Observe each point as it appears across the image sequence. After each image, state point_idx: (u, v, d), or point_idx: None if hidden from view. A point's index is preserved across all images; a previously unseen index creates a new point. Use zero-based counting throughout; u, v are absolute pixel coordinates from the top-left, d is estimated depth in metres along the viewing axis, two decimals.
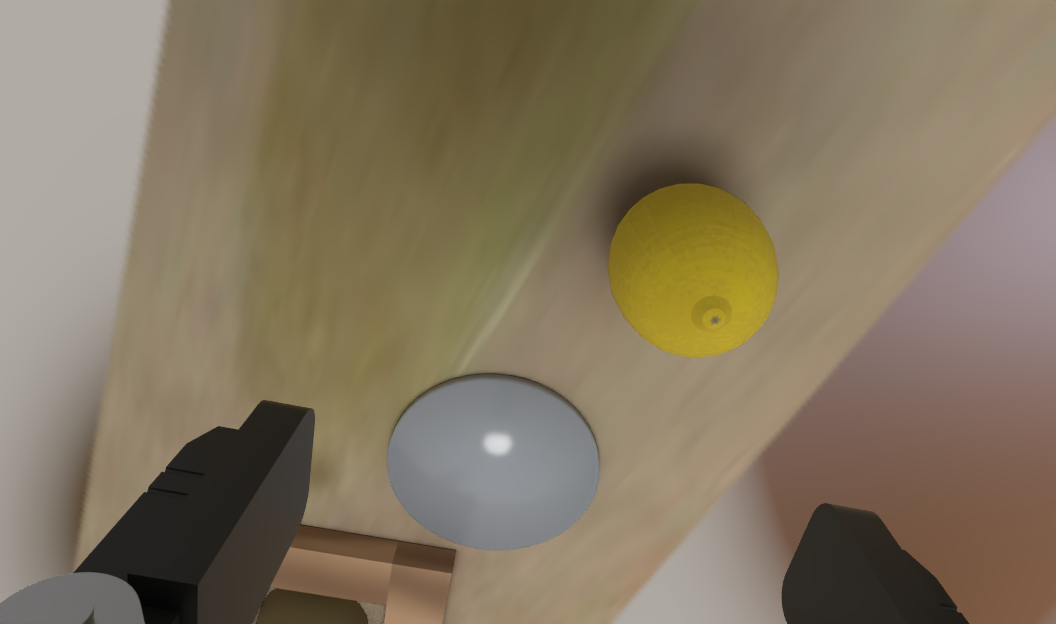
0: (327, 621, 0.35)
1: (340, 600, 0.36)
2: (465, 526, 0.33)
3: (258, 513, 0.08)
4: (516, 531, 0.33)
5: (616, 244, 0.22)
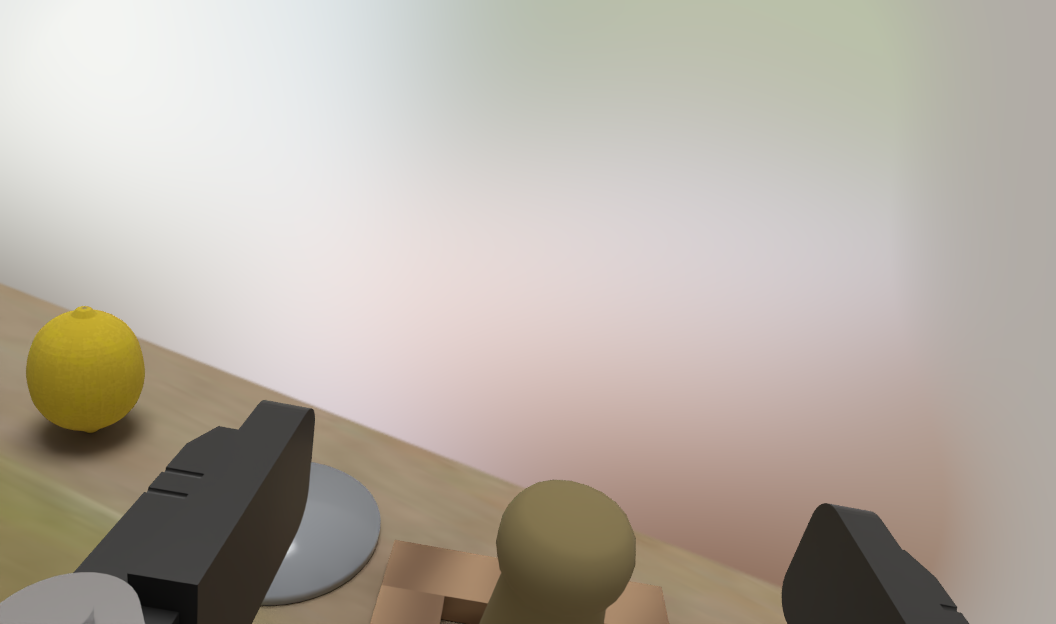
0: None
1: None
2: (348, 542, 0.34)
3: (258, 513, 0.08)
4: (357, 509, 0.37)
5: (46, 389, 0.35)
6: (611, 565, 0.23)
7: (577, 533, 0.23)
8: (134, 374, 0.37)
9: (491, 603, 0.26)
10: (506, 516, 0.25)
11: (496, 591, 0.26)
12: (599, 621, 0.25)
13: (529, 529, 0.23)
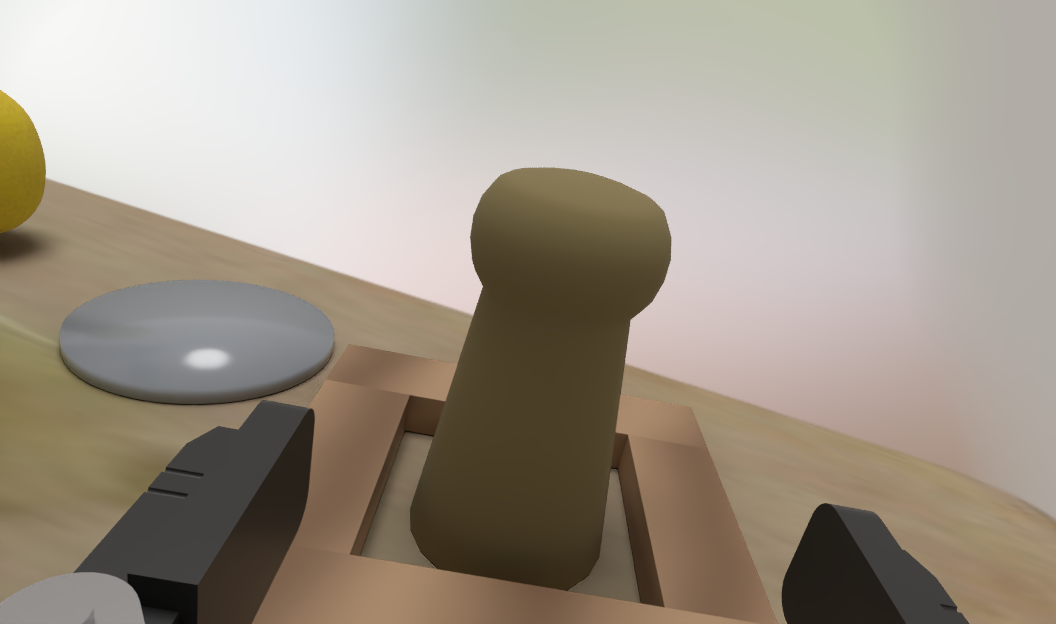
0: None
1: None
2: (290, 350, 0.27)
3: (258, 513, 0.08)
4: (305, 325, 0.29)
5: None
6: (638, 231, 0.15)
7: (587, 190, 0.16)
8: (27, 162, 0.30)
9: (465, 342, 0.18)
10: (484, 193, 0.17)
11: (472, 321, 0.18)
12: (619, 349, 0.17)
13: (517, 187, 0.16)
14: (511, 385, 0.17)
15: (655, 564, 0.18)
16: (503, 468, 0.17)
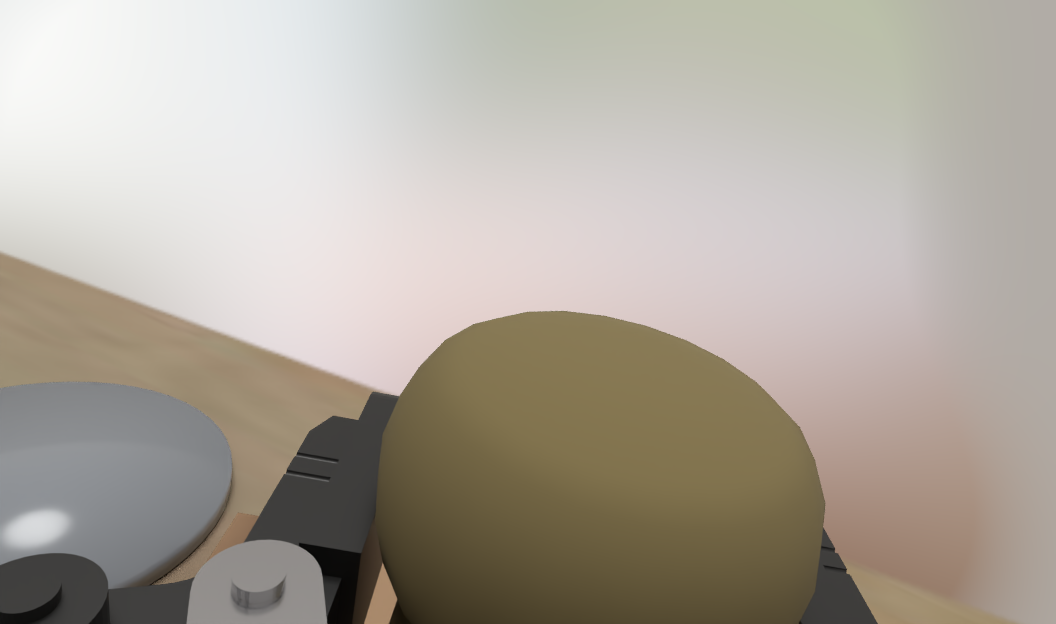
0: None
1: None
2: (151, 518, 0.18)
3: None
4: (189, 460, 0.20)
5: None
6: (774, 541, 0.06)
7: (641, 424, 0.06)
8: None
9: None
10: (404, 391, 0.08)
11: None
12: None
13: (469, 414, 0.06)
14: None
15: None
16: None
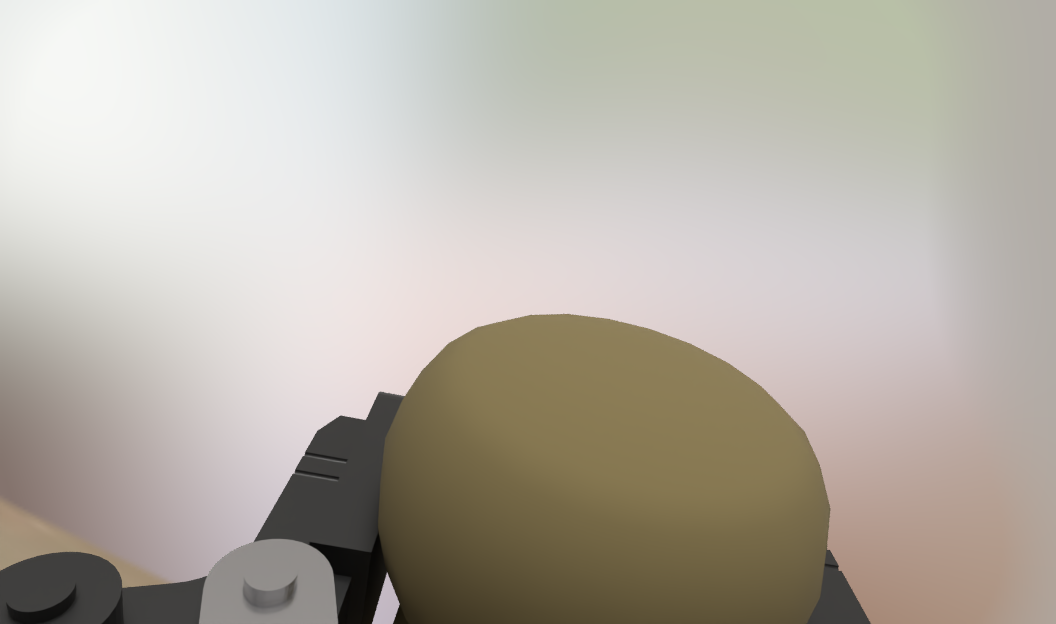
0: None
1: None
2: None
3: None
4: None
5: None
6: (779, 547, 0.06)
7: (645, 429, 0.06)
8: None
9: None
10: (407, 395, 0.08)
11: None
12: None
13: (473, 419, 0.06)
14: None
15: None
16: None
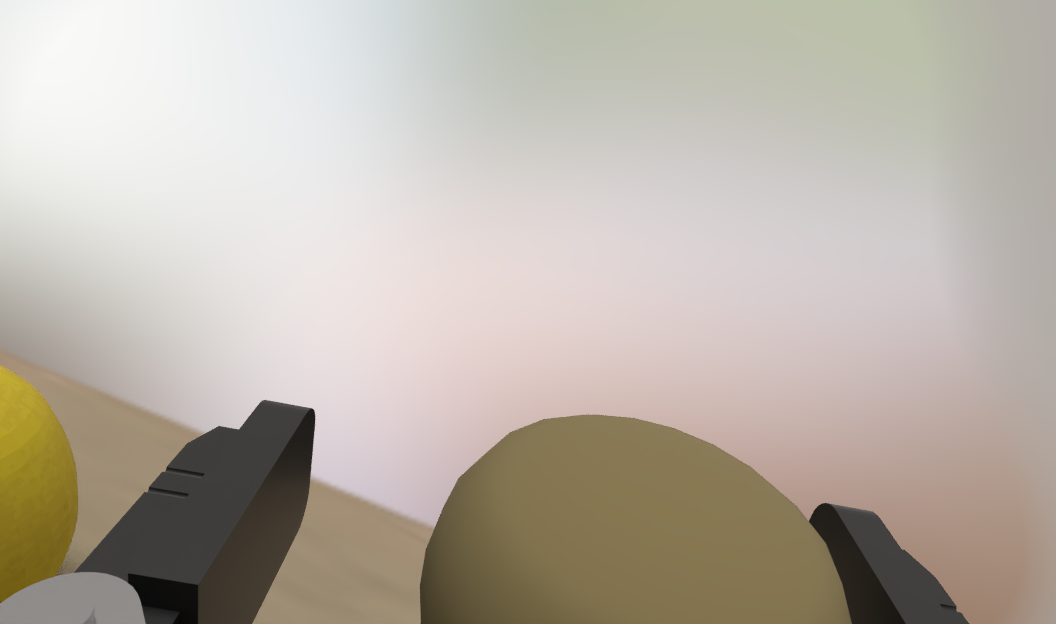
0: None
1: None
2: None
3: (259, 513, 0.08)
4: None
5: None
6: None
7: (681, 566, 0.07)
8: (44, 517, 0.15)
9: None
10: (448, 510, 0.08)
11: None
12: None
13: (518, 553, 0.07)
14: None
15: None
16: None
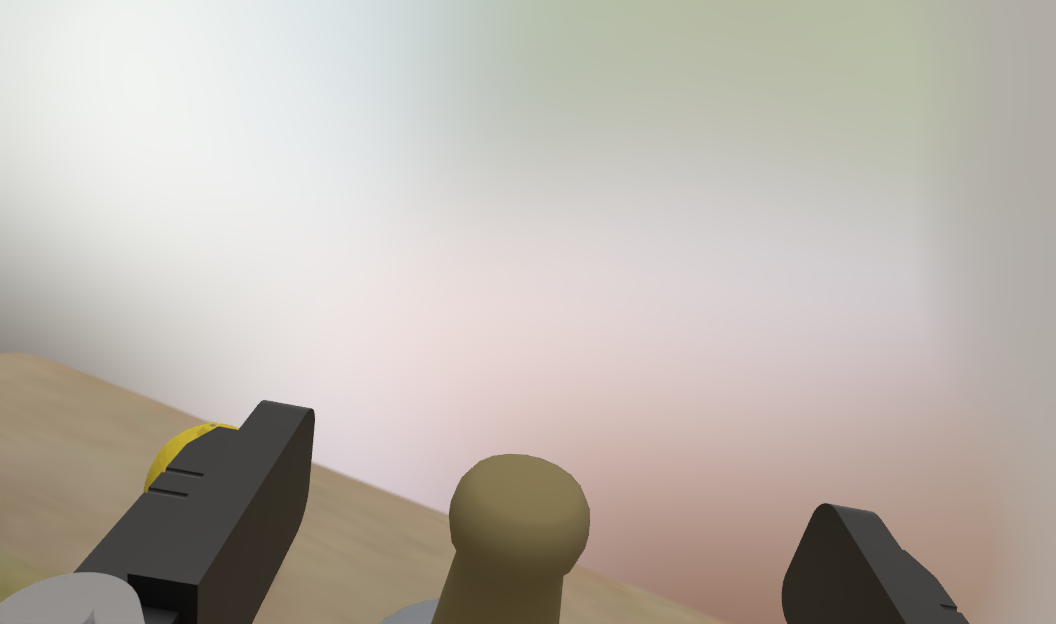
0: None
1: None
2: None
3: (258, 513, 0.08)
4: None
5: None
6: (561, 532, 0.23)
7: (526, 500, 0.23)
8: None
9: (447, 580, 0.26)
10: (458, 487, 0.24)
11: (451, 567, 0.25)
12: (554, 594, 0.24)
13: (478, 497, 0.23)
14: None
15: None
16: None
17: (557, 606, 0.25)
